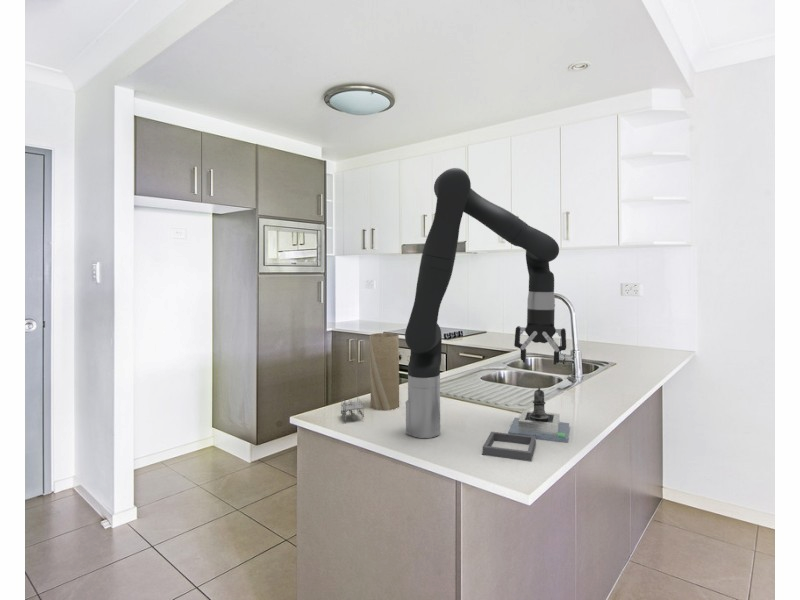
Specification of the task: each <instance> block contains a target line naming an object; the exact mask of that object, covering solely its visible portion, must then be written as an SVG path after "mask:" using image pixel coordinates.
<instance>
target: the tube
mask: <svg viewBox="0 0 800 600" xmlns="http://www.w3.org/2000/svg"><path fill="white" fill-rule="evenodd" d="M399 348H400V344H399V334H398V333H394V332H393V333H392V332H378V333H371V334H369V371H370V372H369V376H370V378H369V379H370V380H369V381H370V383H369V385H370V408H371V409H372V410H377V411H392V409H393V410H396V408H397V409H399V407H400V359H399V358H400V357H399V356H400V353H399Z"/></svg>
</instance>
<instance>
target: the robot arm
mask: <svg viewBox="0 0 800 600" xmlns="http://www.w3.org/2000/svg"><path fill="white" fill-rule="evenodd" d="M471 184H472V183H471V179H470V177H469V175H468V173H467V172H466V171H464V170H463V169H462V168H459V167H452V168H448V169H446V170H444V171H443V172H442V173H441V174H439V176H438V177H437V178H436V179H435V181H434V185H433V192H434V195H435V197H436V205H435V211H434V216H433V221H432V224H431V226H430V228H429V231H428V234H427V237H426V239H425V243H424V246H423V249H422V253H421V258H420V263H419V269H418V274H417V275H418V276H417V280H416V281H417V282H416V287H415V288H416V289H415V295H414V296H415V297H414V301H413V306H412V309H411V313H410V316H409V319H408V323H407V326H406V329H405V331H404V332H405V333H404V338H405V343H406V346H407V347H408V349H409V350H410V355H409V361H408V366H407V393H408V394H407V399H408V400H406V402H405V434H406V435H409V436H412V437H414V438H418V439H419V438H420V439H431V438H436V437H437V436H439V435H440V434H441V364H442V348H443V347H442V345H443V344H442V342H443V341H442V339H443V337H442V330H441V327H440V325H439V324H438V319H439V312H440V308H441V304H442V301H443V300H444V299H443V298H444V296H445V294H446V292H447V290H448V286H449V284H450V281H451V278H452V274H453V269H454V265H455V260H456V254H457V248H458V244H459V243H458V241H459V235H460V228H461V223H462V218H463V216H464V213H465V214H466V215H468V216H470V217H471V218H473V219H475V220H477V221H478V223H479V222H480V224H482V225H483V226H484V227H487V228H488V229H489V230H490V231H492V232H493V233H494V234H496V235H497V236H499V237H501V238H502V239H503V240H504V241H506V242H507V243H510V245H513V246H515V247H517V248H518V247H519V248H521V249H523V250H525V262H526V268H527V269H526V270H527V272H528V292H527V293H528V294H527V295H528V296H527V307H526V308H527V309H526V310H527V311H526V312H527V313H526V314H527V315H526V326H525V327H522V326H520V325H517V326H516V328H515V331H514V332H515V333H514V343H513V344H514V347H515V348H518V349H520V361H522V363H526V362H527V349H526V348H527V347H528V345H529V344H531V343H535V344H537V343H542V344H547V343H548V344H549V345H550V346H551V348H552V349H553V350H554V352H553V365H554V366H557V364H559V362H560V352H562V351H566V349H567V330H566V328H564V327H562V328H556V327H555V309H556V308H555V307H556V300H555V299H556V298H555V297H556V296H555V276H554V273H553V272H552V271H551V270H550V269H551V268H550V262H552V261H554V260H556V258H557V257H558V256H559V254H560V246H559V244H558V242H557V241H556V239H554V238H553V237H551V236H550V235H549V234H547V233H545V232H544V231H541V230H539V229H538V228H536V227H533V226H530V225H529V224H528V223H526V221H524V220H522V219H521V218H519V217H518V216H516V215H515V214H514V213H512V212H511V211H509V210H507V209H505V208H504V207H501V206H499V205H497V204H495V203H494V202H491V201H490V200H488V199H486V198H485V197H483V196H481V195H480V194H478V193H477V192H476V191H475V190H474V189H473V188H471V187H472V186H471ZM524 332H525V334H527V336H528V337H527V339H526V340H525V341H524V342H523V343H520V342H521V335H523V333H524ZM556 334H557V336H558V337H560V341H561V345H558V343H556V341H555V339H554V338H553V337H554V336H555V335H556Z"/></svg>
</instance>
